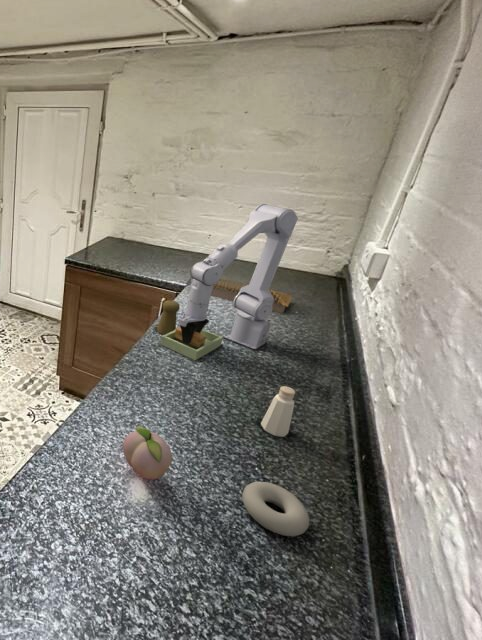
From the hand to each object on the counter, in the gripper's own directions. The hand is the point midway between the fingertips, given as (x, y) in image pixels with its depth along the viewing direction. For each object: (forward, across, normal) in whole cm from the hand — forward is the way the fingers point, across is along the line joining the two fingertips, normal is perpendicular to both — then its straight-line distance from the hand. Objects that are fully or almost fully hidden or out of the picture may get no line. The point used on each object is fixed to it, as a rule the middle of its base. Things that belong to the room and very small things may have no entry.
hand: (189, 340), depth 125 cm
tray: (+2, -2, 0) cm, 3 cm away
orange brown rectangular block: (+2, 0, 0) cm, 2 cm away
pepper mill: (+2, -4, -10) cm, 11 cm away
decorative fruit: (+2, +56, +22) cm, 60 cm away
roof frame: (+2, -58, -10) cm, 59 cm away
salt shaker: (+2, +20, +32) cm, 38 cm away
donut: (+2, +44, +41) cm, 60 cm away
